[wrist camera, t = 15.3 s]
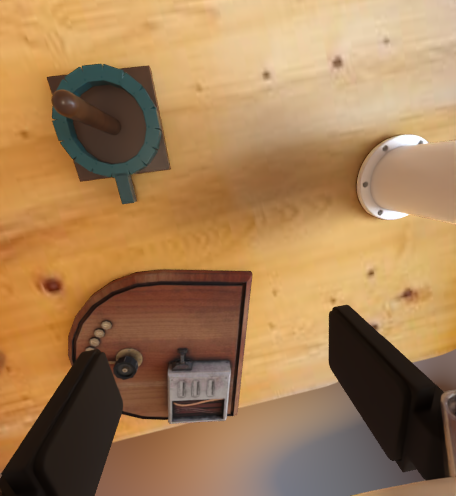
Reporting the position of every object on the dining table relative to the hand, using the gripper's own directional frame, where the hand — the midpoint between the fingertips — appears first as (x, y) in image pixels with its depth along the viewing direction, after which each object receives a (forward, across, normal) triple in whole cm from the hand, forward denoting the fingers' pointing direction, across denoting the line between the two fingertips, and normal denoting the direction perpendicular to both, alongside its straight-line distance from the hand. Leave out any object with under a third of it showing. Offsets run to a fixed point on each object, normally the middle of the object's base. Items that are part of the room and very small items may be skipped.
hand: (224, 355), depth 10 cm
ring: (+27, +10, -12) cm, 31 cm away
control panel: (+28, +12, +22) cm, 38 cm away
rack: (+28, +10, -14) cm, 33 cm away
